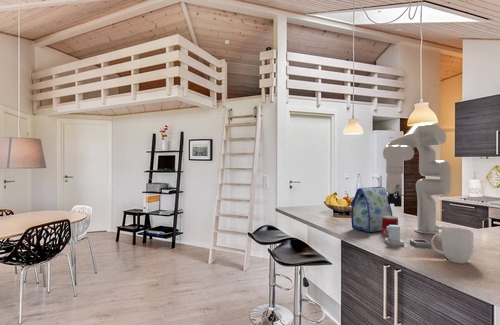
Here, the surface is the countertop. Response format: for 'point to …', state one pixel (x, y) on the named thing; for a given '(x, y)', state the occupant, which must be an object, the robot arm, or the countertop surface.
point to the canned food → (388, 223)
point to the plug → (394, 232)
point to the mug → (455, 244)
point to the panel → (408, 244)
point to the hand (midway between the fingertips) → (394, 205)
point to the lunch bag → (369, 209)
